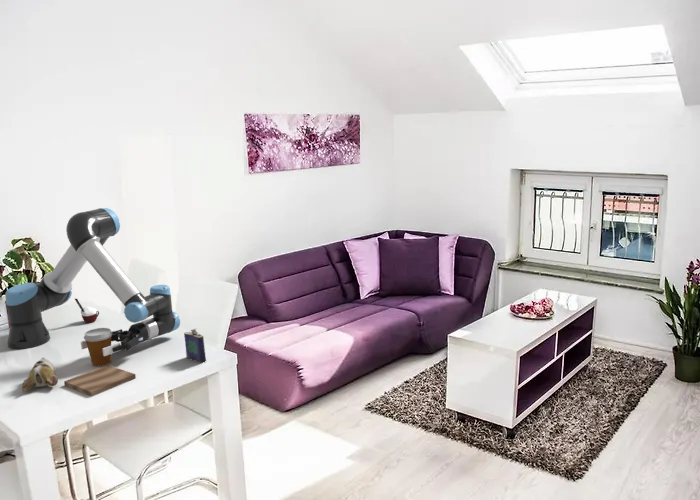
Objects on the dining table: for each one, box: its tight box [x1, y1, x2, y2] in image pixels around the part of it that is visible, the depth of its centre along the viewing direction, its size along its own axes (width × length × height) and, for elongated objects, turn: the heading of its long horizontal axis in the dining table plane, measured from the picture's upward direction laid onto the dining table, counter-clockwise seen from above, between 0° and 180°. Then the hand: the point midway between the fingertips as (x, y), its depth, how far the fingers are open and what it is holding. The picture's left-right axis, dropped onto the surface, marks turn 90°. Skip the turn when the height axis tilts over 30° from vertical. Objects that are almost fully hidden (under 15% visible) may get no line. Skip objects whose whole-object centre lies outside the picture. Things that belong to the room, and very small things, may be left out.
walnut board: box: [63, 364, 137, 397], centre depth 200 cm, size 16×16×2 cm
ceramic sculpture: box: [21, 357, 59, 392], centre depth 199 cm, size 11×9×15 cm
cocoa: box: [74, 298, 100, 324], centre depth 265 cm, size 10×6×12 cm
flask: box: [183, 328, 207, 364], centre depth 215 cm, size 10×3×12 cm, turn 50°
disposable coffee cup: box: [83, 327, 113, 368], centre depth 215 cm, size 10×10×12 cm
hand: (92, 349), depth 213 cm, fingers open, 13 cm apart
